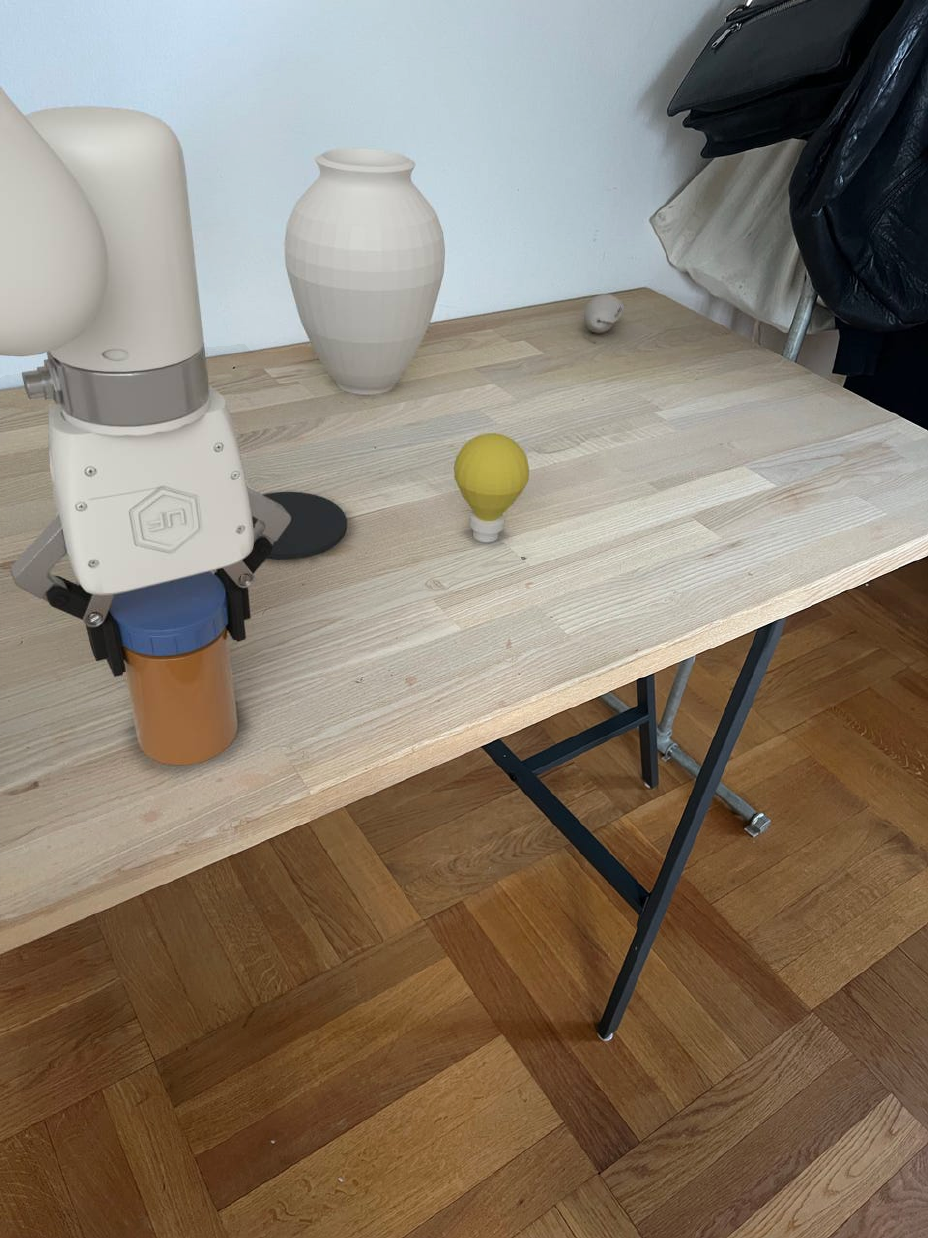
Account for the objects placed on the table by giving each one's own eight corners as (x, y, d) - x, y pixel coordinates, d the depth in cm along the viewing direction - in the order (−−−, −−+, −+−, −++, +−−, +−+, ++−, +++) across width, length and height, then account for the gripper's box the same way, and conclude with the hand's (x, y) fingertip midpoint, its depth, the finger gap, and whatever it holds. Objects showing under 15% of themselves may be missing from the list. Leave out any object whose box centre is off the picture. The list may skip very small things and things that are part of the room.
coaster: (250, 571, 79) (249, 565, 79) (208, 511, 86) (208, 505, 86) (366, 542, 84) (366, 536, 84) (318, 487, 91) (317, 482, 91)
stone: (614, 346, 128) (620, 310, 125) (576, 340, 129) (581, 304, 126) (623, 324, 136) (629, 289, 133) (587, 318, 137) (592, 284, 134)
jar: (153, 778, 60) (128, 650, 53) (126, 715, 64) (100, 591, 58) (251, 745, 63) (239, 620, 56) (219, 687, 67) (204, 566, 61)
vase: (343, 426, 102) (339, 182, 87) (263, 372, 113) (248, 146, 98) (467, 393, 112) (484, 168, 97) (383, 346, 122) (386, 136, 107)
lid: (244, 636, 57) (242, 612, 56) (128, 669, 54) (123, 643, 53) (208, 578, 62) (205, 554, 60) (99, 605, 59) (94, 580, 57)
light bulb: (531, 528, 88) (544, 431, 82) (504, 562, 83) (515, 462, 77) (467, 510, 90) (475, 414, 84) (437, 542, 85) (443, 442, 79)
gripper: (-39, 439, 42) (43, 725, 53) (317, 380, 50) (325, 640, 60) (-62, 377, 47) (17, 651, 58) (264, 333, 55) (281, 581, 65)
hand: (174, 644), depth 59 cm, fingers closed on lid, 7 cm apart
